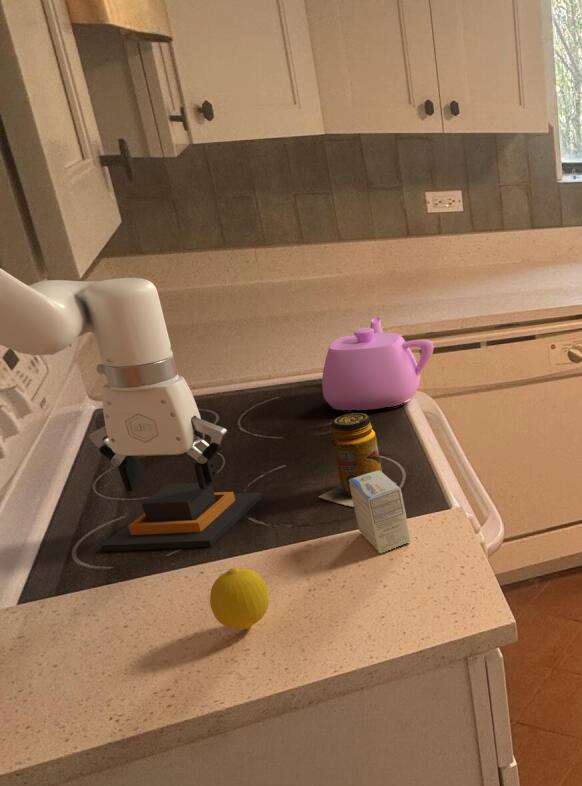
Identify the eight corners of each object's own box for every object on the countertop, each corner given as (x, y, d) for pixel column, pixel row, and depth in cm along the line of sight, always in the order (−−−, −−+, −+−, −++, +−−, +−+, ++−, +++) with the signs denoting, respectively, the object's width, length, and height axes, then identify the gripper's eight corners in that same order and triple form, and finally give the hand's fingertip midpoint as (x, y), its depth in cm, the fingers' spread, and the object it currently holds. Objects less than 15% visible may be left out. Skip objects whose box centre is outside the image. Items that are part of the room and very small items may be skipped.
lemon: (264, 607, 94) (249, 550, 91) (283, 626, 91) (268, 567, 88) (212, 630, 90) (194, 571, 87) (230, 650, 87) (212, 589, 84)
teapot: (436, 410, 154) (425, 336, 149) (319, 420, 149) (303, 344, 144) (448, 373, 175) (438, 308, 169) (345, 381, 170) (332, 314, 164)
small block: (149, 528, 109) (141, 503, 108) (175, 508, 115) (167, 483, 114) (194, 526, 110) (187, 501, 108) (217, 506, 115) (211, 482, 114)
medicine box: (412, 543, 108) (402, 487, 105) (378, 555, 105) (367, 498, 102) (390, 522, 113) (380, 468, 110) (358, 533, 110) (347, 478, 107)
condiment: (397, 484, 124) (385, 414, 120) (353, 507, 117) (338, 434, 113) (363, 475, 127) (350, 407, 123) (318, 498, 120) (302, 426, 116)
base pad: (102, 551, 106) (96, 535, 105) (165, 502, 119) (160, 487, 118) (211, 546, 107) (206, 530, 106) (261, 498, 120) (258, 483, 119)
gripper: (52, 382, 100) (88, 500, 106) (194, 379, 102) (222, 496, 108) (92, 364, 107) (125, 476, 113) (225, 362, 109) (250, 473, 115)
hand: (172, 486), depth 110 cm, fingers open, 9 cm apart
